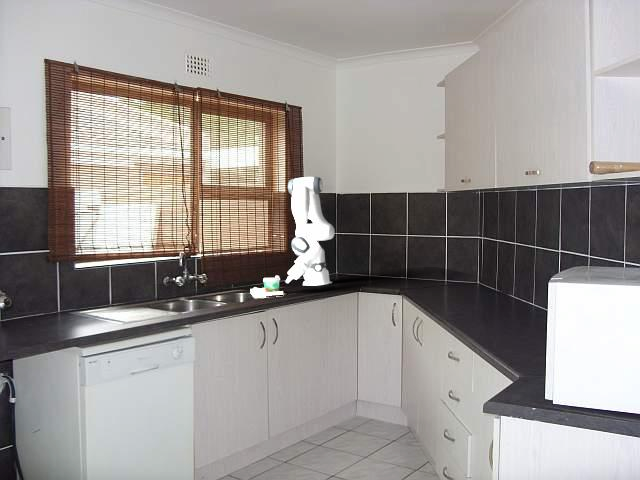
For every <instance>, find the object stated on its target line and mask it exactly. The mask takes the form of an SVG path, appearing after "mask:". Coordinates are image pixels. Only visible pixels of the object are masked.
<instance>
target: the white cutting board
mask: <svg viewBox="0 0 640 480" xmlns="http://www.w3.org/2000/svg"><path fill="white" fill-rule="evenodd" d="M250 294H251V295H252V297H253V298H254V299H259V298H262V297H263V298H267V297H266V296H272V295H283V296H284V291H283V290H282V291H279V292H267V293H265V287H262V288H258V287H256V286H255V287H253V288H250Z"/></svg>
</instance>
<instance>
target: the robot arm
mask: <svg viewBox="0 0 640 480" xmlns="http://www.w3.org/2000/svg"><path fill="white" fill-rule="evenodd" d="M323 188H324V183H323V180H322V178H321V177H320V176H304V177H298V178H292V179H290V180H289V181H288V182H287V190H288V193H289V194H290V195H291V212H292V215H293V217H294V220H295V224H296V229H295V237H294V238H293V239H292V240H291V248H292V251H293V252H294V254H295V255H296V256H297V258H296V260H294V263H295V264H294V265H293V266H292V267H291V268H290V269H289V270H288V271H287V275H288V276H287V278H286V280H285V281H284V282H285V283H286V284H289V283H290V282H291V281H292V280H293V279H294V280H296V281H297V280H298V279H300V278H301V277H302V276H303V278H304V281H303V282H302V286H324V285H330V284H333V281H330V274H329V273H330V272H329V270H328V269H327V268H326V267H327V262H326V255H325V254H326V253H325V249H324V248H323V247H322V245H321V244H320V243H319V241H320V242H321V241H322V242H323V241H328V240H332V239H333V238H334V236H335V231H336V230H335V228H334V226H333V225H332V223H330V222H328V221H327V219H326V218H325V217H324V215H323V211H322V207H321V198H320V194H321V192H322V191H323ZM308 220H311V222H312V223H308Z"/></svg>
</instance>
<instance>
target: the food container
mask: <svg viewBox="0 0 640 480" xmlns="http://www.w3.org/2000/svg"><path fill="white" fill-rule="evenodd" d="M262 281H263V285H264V288H265V293H267V292H280V281H281V278H280V276H279V275H275V277H264V278H263V280H262Z"/></svg>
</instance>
